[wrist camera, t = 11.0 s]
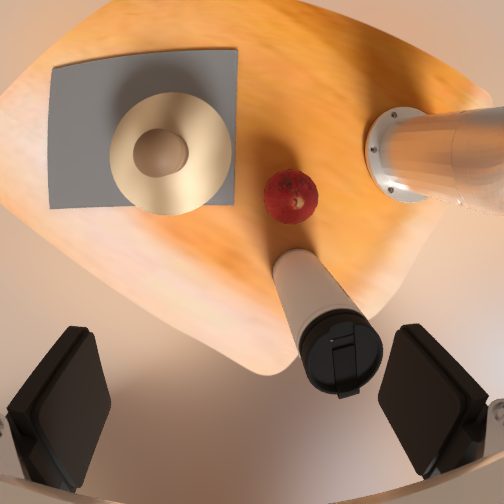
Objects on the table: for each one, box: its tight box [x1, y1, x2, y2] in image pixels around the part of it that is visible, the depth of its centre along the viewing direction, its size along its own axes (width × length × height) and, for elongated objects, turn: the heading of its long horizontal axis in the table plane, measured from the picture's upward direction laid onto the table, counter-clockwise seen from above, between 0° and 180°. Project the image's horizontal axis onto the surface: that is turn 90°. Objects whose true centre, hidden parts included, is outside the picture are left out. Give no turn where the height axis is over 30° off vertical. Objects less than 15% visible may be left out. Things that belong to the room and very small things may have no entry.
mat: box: [48, 50, 238, 209], centre depth 34 cm, size 24×19×1 cm
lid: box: [110, 92, 232, 216], centre depth 27 cm, size 12×12×6 cm
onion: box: [264, 169, 318, 224], centre depth 34 cm, size 6×6×8 cm
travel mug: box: [272, 248, 383, 399], centre depth 31 cm, size 6×7×20 cm
